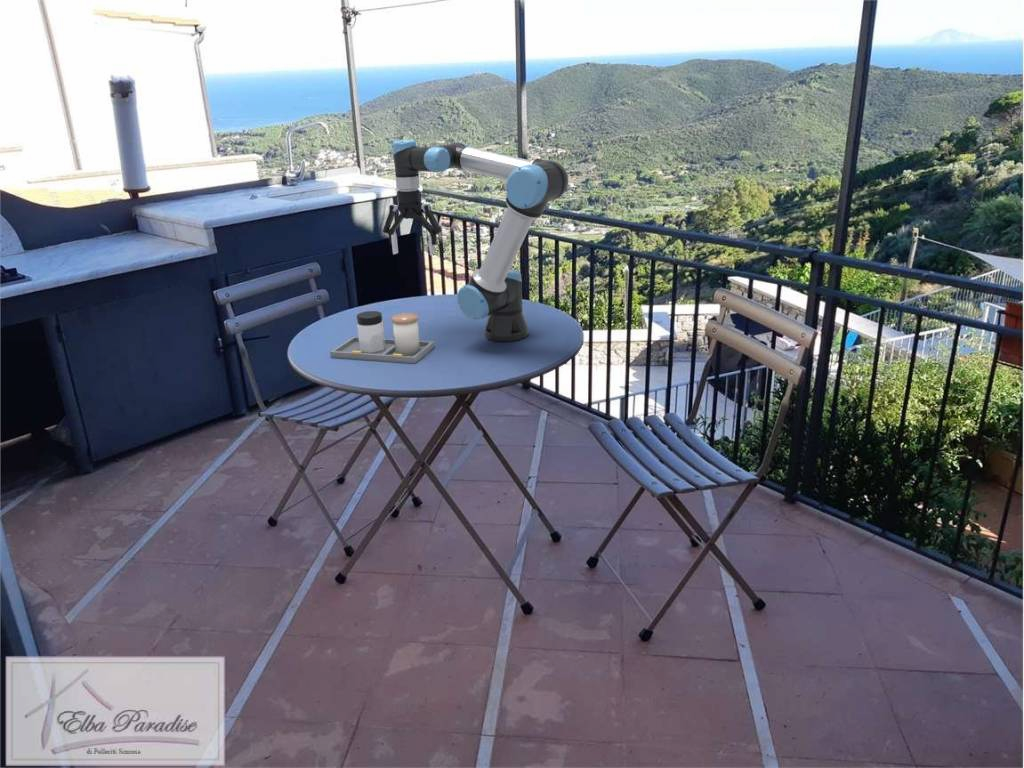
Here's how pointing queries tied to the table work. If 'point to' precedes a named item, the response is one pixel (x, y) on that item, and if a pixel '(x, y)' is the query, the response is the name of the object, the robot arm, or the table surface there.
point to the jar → (370, 331)
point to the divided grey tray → (388, 355)
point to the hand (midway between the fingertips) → (414, 254)
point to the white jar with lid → (406, 334)
